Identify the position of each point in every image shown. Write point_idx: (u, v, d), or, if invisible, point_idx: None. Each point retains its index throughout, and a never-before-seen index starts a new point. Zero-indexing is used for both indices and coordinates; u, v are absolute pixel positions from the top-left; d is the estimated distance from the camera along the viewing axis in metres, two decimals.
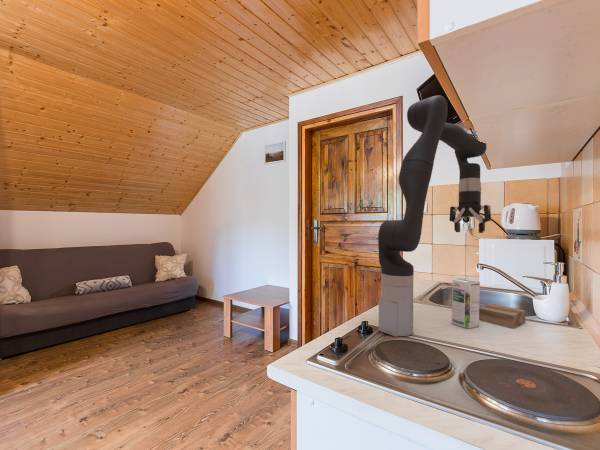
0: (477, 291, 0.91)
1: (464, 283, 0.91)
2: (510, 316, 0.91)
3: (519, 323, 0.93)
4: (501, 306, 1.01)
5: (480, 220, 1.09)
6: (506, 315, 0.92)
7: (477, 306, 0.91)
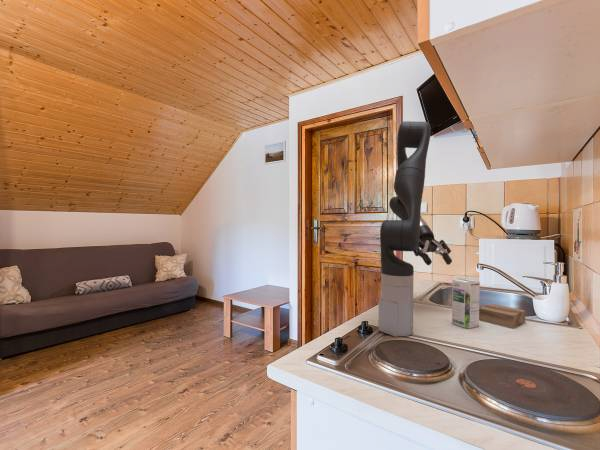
0: (477, 291, 0.91)
1: (464, 283, 0.91)
2: (510, 316, 0.91)
3: (519, 323, 0.93)
4: (501, 306, 1.01)
5: (445, 251, 1.08)
6: (506, 315, 0.92)
7: (477, 306, 0.91)
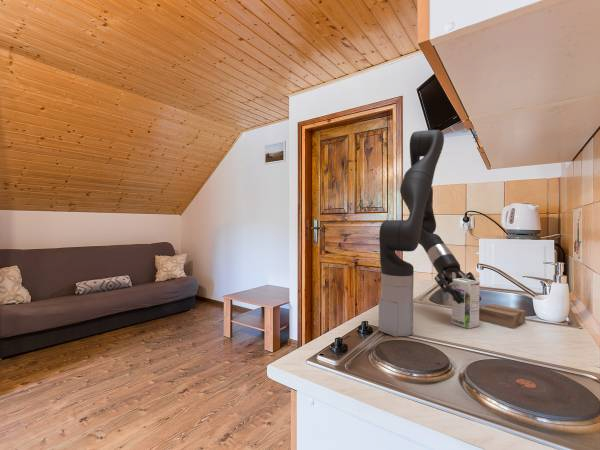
0: (477, 291, 0.91)
1: (464, 283, 0.91)
2: (510, 316, 0.91)
3: (519, 323, 0.93)
4: (501, 306, 1.01)
5: None
6: (506, 315, 0.92)
7: (477, 306, 0.91)
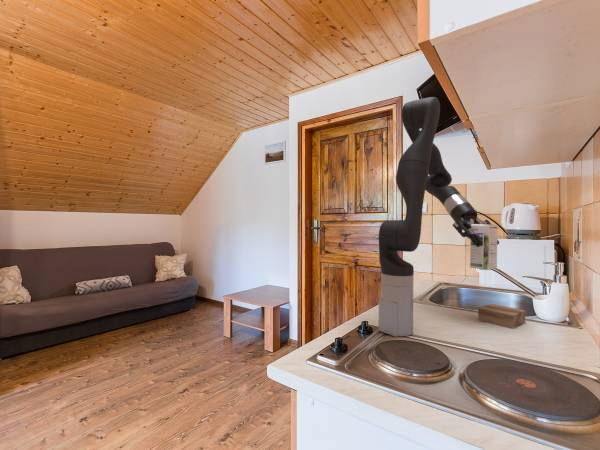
0: (495, 234, 0.94)
1: (483, 226, 0.93)
2: (510, 316, 0.91)
3: (519, 323, 0.93)
4: (501, 306, 1.01)
5: None
6: (506, 315, 0.92)
7: (495, 249, 0.94)
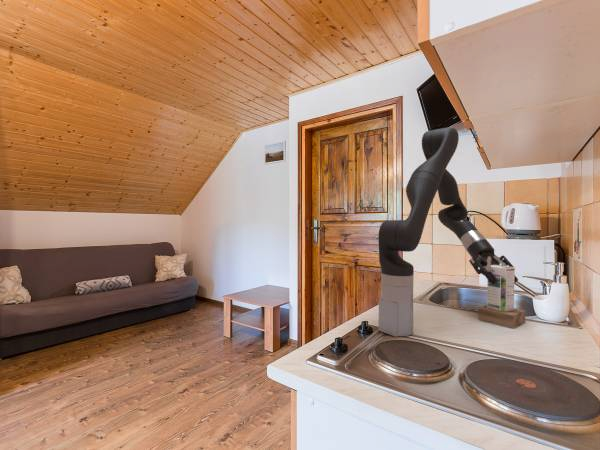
0: (512, 276, 0.96)
1: (500, 268, 0.95)
2: (510, 316, 0.91)
3: (519, 323, 0.93)
4: None
5: None
6: (506, 315, 0.92)
7: (512, 291, 0.96)
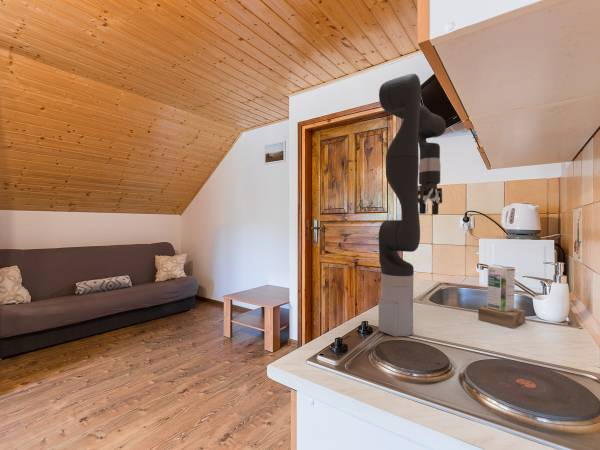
0: (513, 276, 0.96)
1: (500, 269, 0.95)
2: (510, 316, 0.91)
3: (519, 323, 0.93)
4: None
5: (438, 202, 1.13)
6: (506, 315, 0.92)
7: (512, 291, 0.95)
